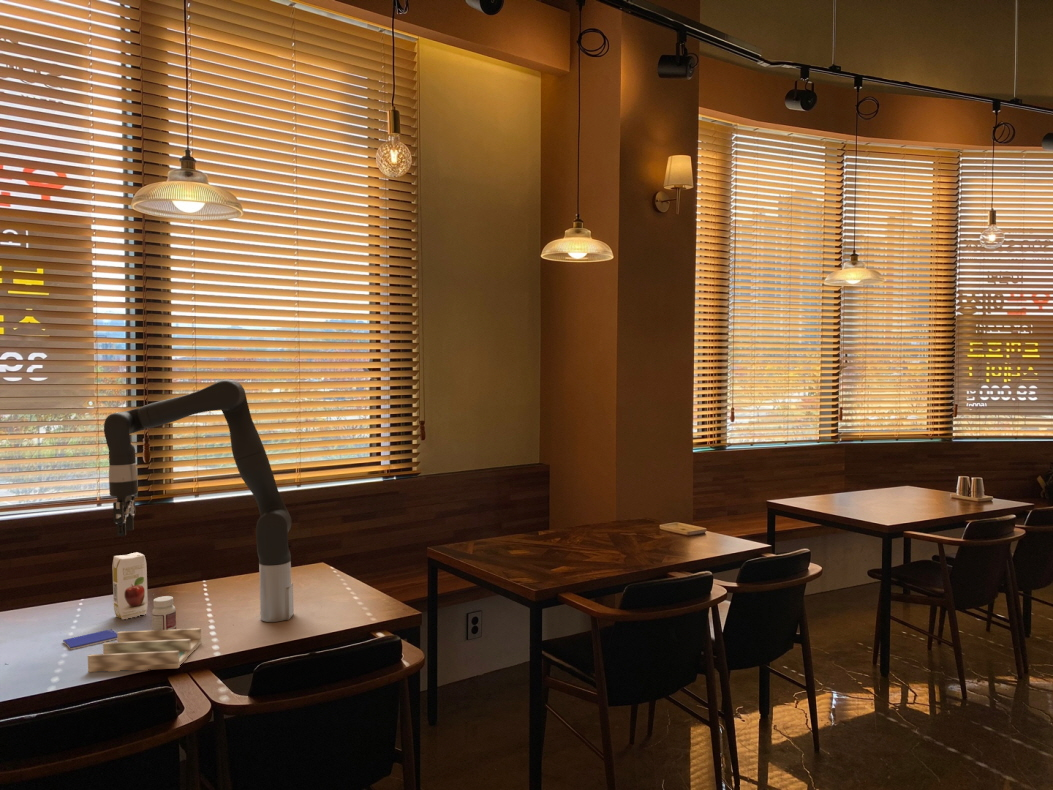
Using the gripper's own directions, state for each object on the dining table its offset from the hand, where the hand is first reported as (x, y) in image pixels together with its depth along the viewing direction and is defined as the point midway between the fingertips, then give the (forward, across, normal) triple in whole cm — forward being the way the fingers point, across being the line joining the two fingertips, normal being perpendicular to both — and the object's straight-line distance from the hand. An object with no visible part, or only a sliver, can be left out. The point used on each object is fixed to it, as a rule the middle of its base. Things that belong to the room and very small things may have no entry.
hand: (125, 533), depth 230 cm
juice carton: (+28, +10, +2) cm, 30 cm away
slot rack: (+28, -29, -12) cm, 42 cm away
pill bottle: (+28, -14, -13) cm, 34 cm away
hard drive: (+29, -11, +7) cm, 32 cm away
